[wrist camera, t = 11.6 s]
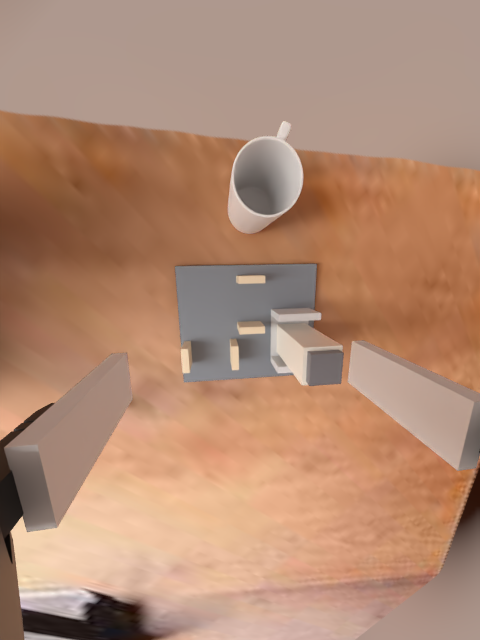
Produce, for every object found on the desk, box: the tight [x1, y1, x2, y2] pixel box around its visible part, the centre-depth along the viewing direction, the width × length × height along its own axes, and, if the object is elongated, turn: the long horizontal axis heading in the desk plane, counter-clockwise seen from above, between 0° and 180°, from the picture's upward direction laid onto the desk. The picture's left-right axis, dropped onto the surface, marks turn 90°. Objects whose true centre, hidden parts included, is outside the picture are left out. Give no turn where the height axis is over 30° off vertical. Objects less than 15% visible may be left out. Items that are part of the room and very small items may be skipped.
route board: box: [175, 264, 321, 382], centre depth 33 cm, size 21×18×5 cm
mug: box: [228, 121, 303, 234], centre depth 26 cm, size 10×7×12 cm, turn 158°
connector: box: [277, 323, 344, 386], centre depth 30 cm, size 4×4×12 cm
